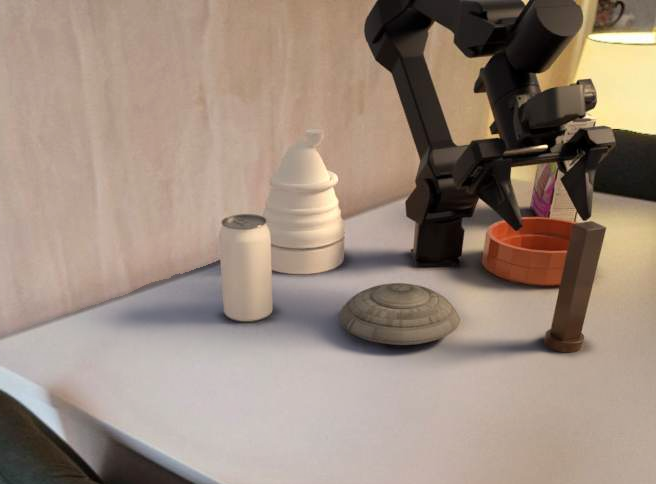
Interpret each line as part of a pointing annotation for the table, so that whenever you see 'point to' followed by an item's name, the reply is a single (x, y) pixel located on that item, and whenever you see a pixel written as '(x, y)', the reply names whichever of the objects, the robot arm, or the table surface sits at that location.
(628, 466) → the table surface
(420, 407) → the table surface
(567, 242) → the bowl
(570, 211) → the candy bar box
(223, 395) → the table surface
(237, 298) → the can
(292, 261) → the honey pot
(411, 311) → the flying saucer
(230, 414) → the table surface
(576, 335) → the stick
